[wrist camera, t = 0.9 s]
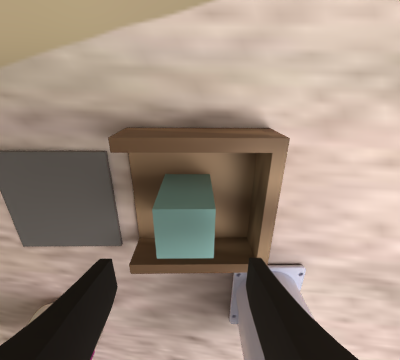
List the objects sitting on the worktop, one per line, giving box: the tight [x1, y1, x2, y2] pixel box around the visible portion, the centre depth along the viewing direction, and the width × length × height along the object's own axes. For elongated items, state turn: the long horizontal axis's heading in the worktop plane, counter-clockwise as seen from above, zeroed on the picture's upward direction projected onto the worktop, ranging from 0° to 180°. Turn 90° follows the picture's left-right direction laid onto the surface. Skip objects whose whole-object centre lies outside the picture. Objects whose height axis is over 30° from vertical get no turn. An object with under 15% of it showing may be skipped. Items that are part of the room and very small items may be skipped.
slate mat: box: [0, 151, 122, 247], centre depth 20 cm, size 10×10×1 cm
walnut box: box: [108, 128, 290, 274], centre depth 18 cm, size 12×12×4 cm
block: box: [152, 174, 216, 259], centre depth 17 cm, size 4×4×6 cm
